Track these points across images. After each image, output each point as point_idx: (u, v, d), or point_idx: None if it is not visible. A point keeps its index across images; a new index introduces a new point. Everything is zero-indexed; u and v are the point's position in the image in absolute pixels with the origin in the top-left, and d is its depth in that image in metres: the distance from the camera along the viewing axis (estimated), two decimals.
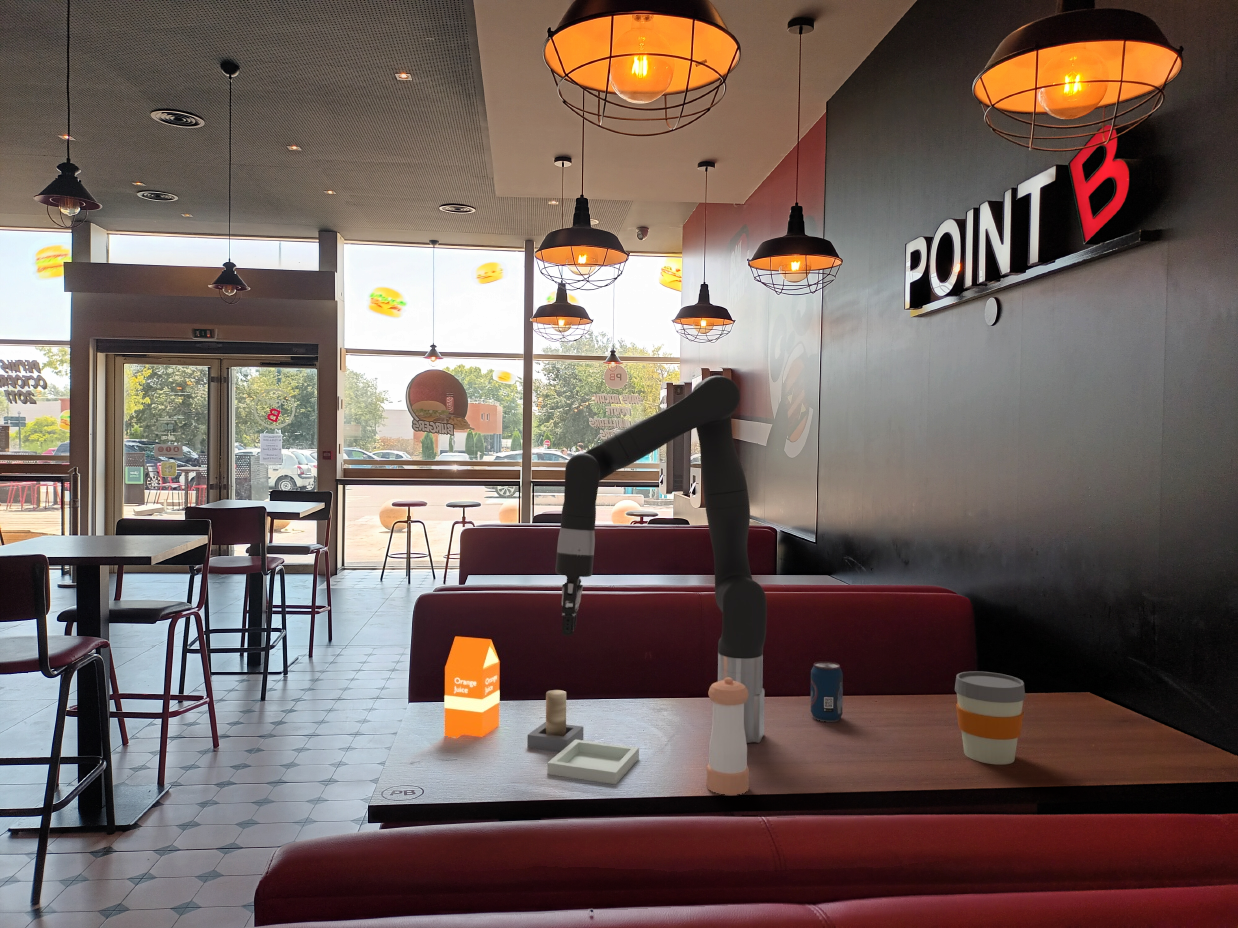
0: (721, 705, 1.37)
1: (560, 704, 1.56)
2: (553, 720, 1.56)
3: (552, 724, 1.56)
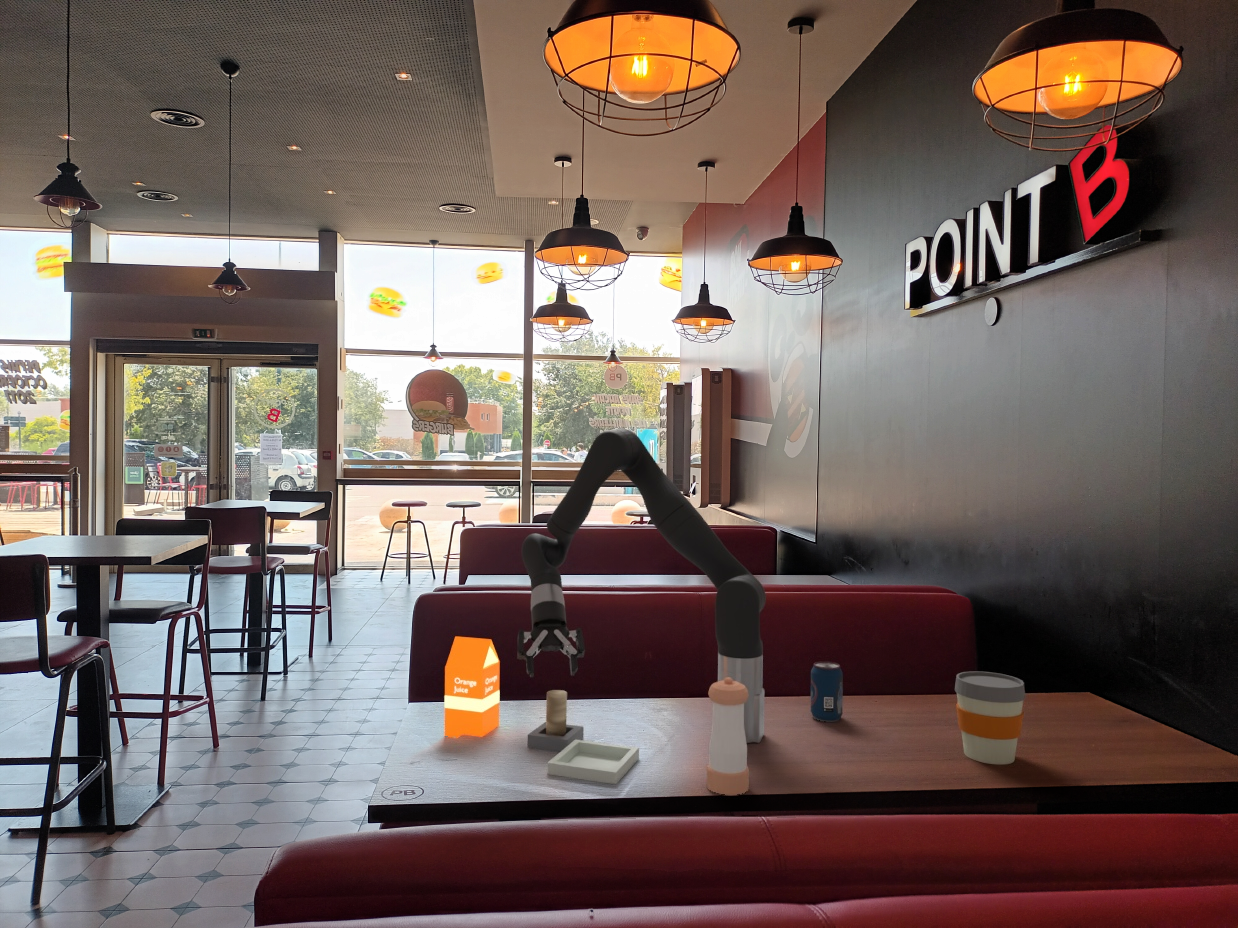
0: (721, 705, 1.37)
1: (561, 704, 1.56)
2: (553, 720, 1.56)
3: (552, 724, 1.56)
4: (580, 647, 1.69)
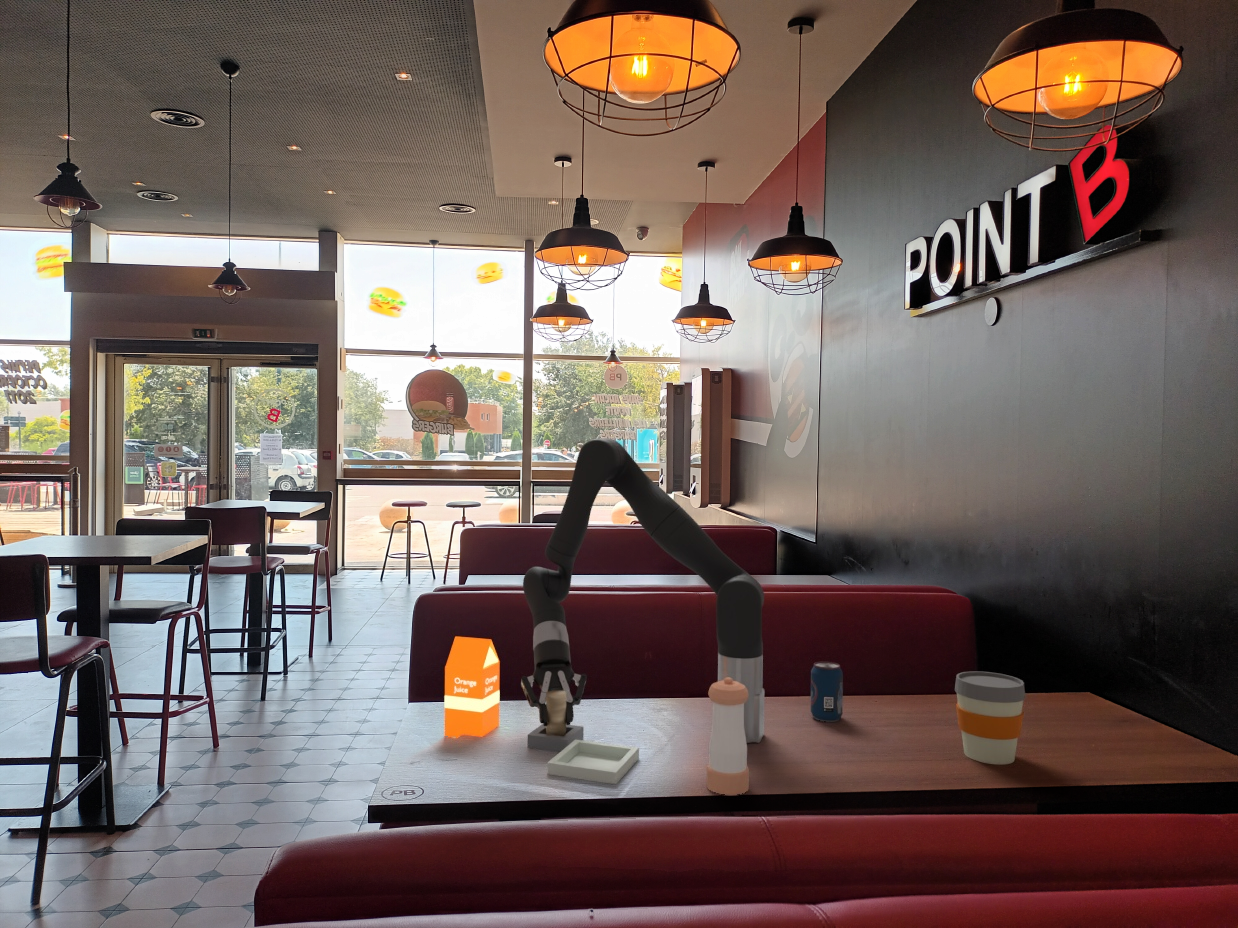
0: (721, 705, 1.37)
1: (560, 704, 1.56)
2: (553, 720, 1.56)
3: (552, 724, 1.56)
4: (577, 694, 1.60)
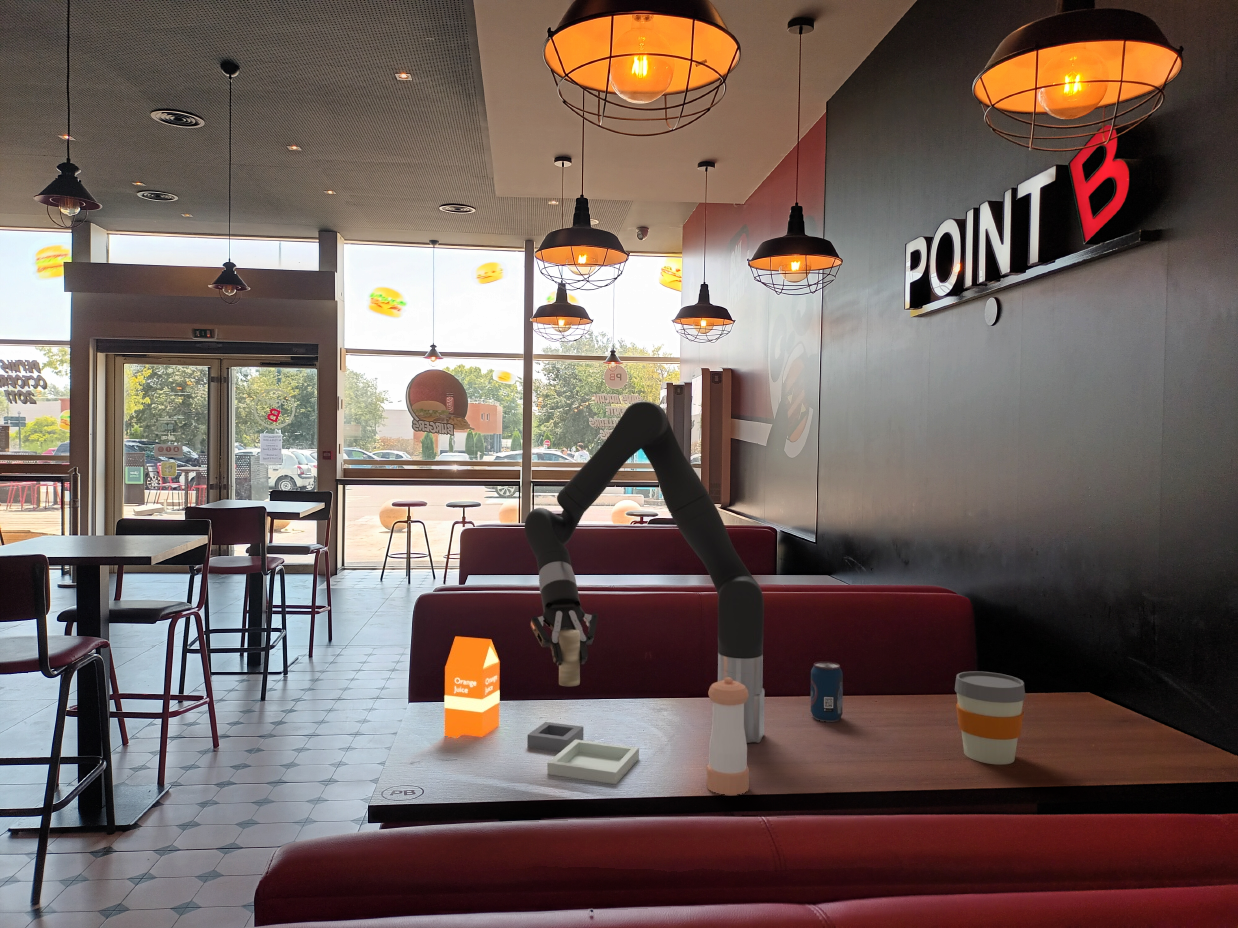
0: (721, 705, 1.37)
1: (575, 643, 1.51)
2: (567, 659, 1.51)
3: (567, 663, 1.51)
4: (590, 633, 1.55)
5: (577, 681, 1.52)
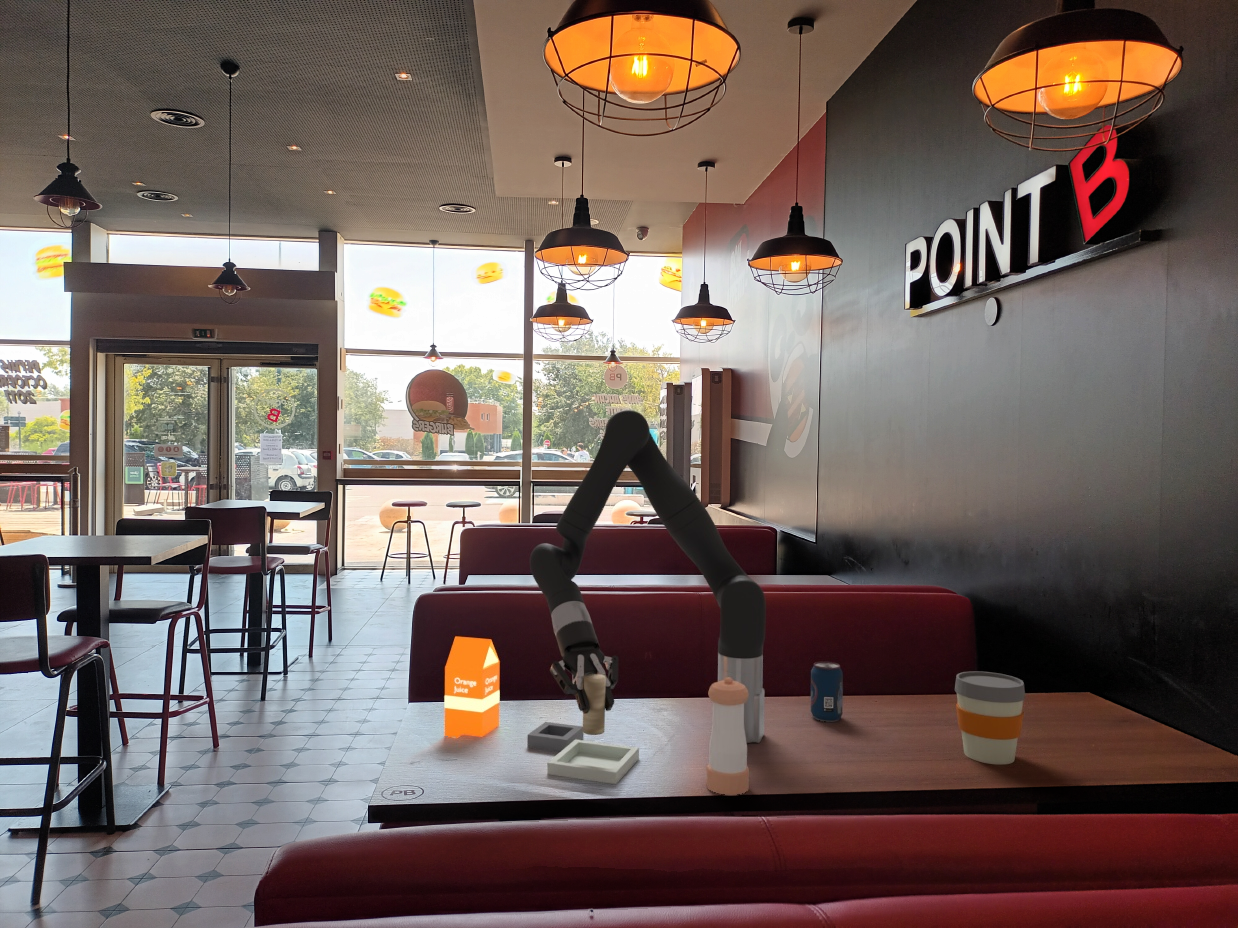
0: (721, 705, 1.37)
1: (602, 689, 1.45)
2: (594, 707, 1.44)
3: (593, 711, 1.44)
4: (613, 677, 1.49)
5: (603, 729, 1.45)
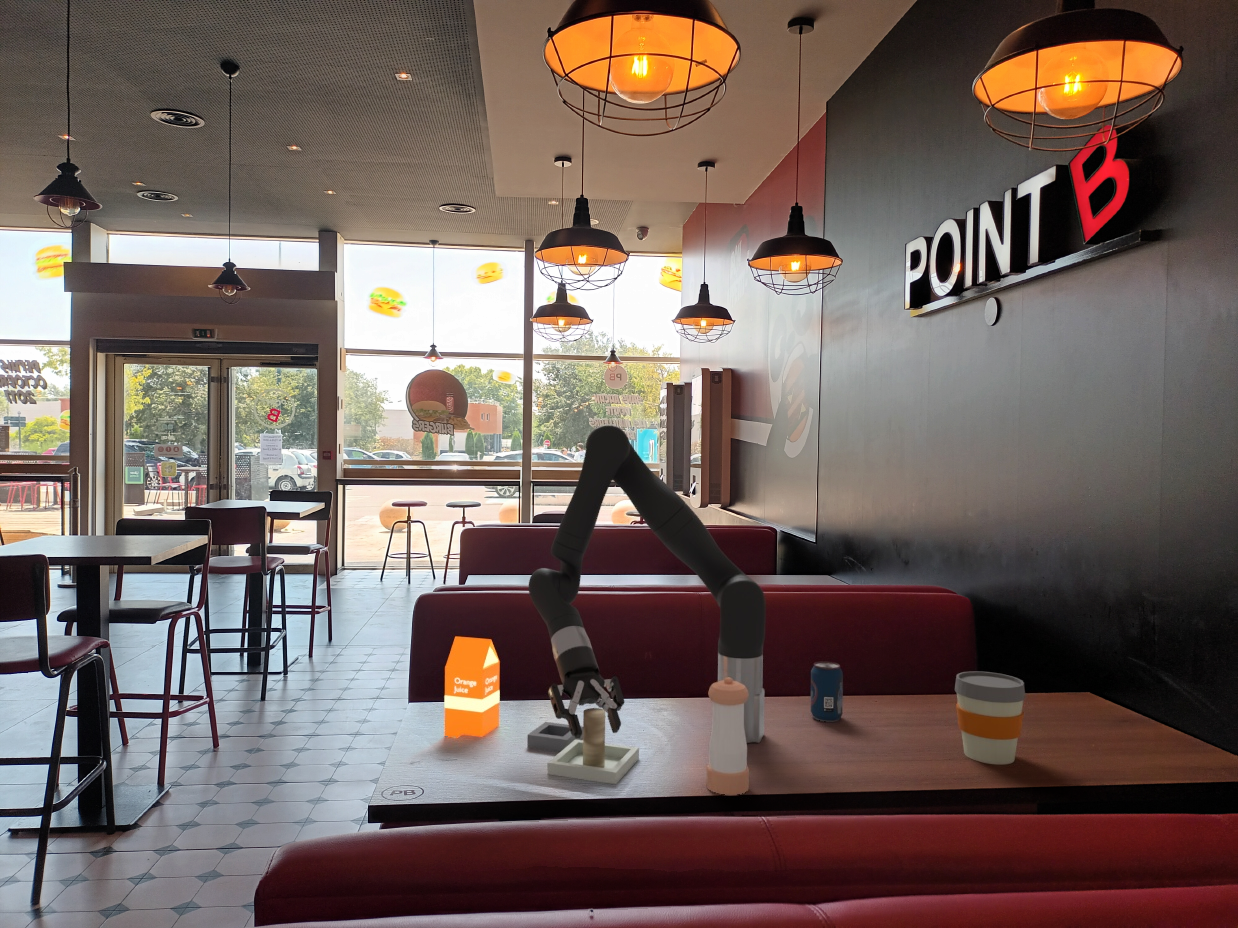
0: (721, 705, 1.37)
1: (601, 724, 1.45)
2: (594, 742, 1.44)
3: (593, 746, 1.44)
4: (619, 699, 1.50)
5: (603, 763, 1.45)
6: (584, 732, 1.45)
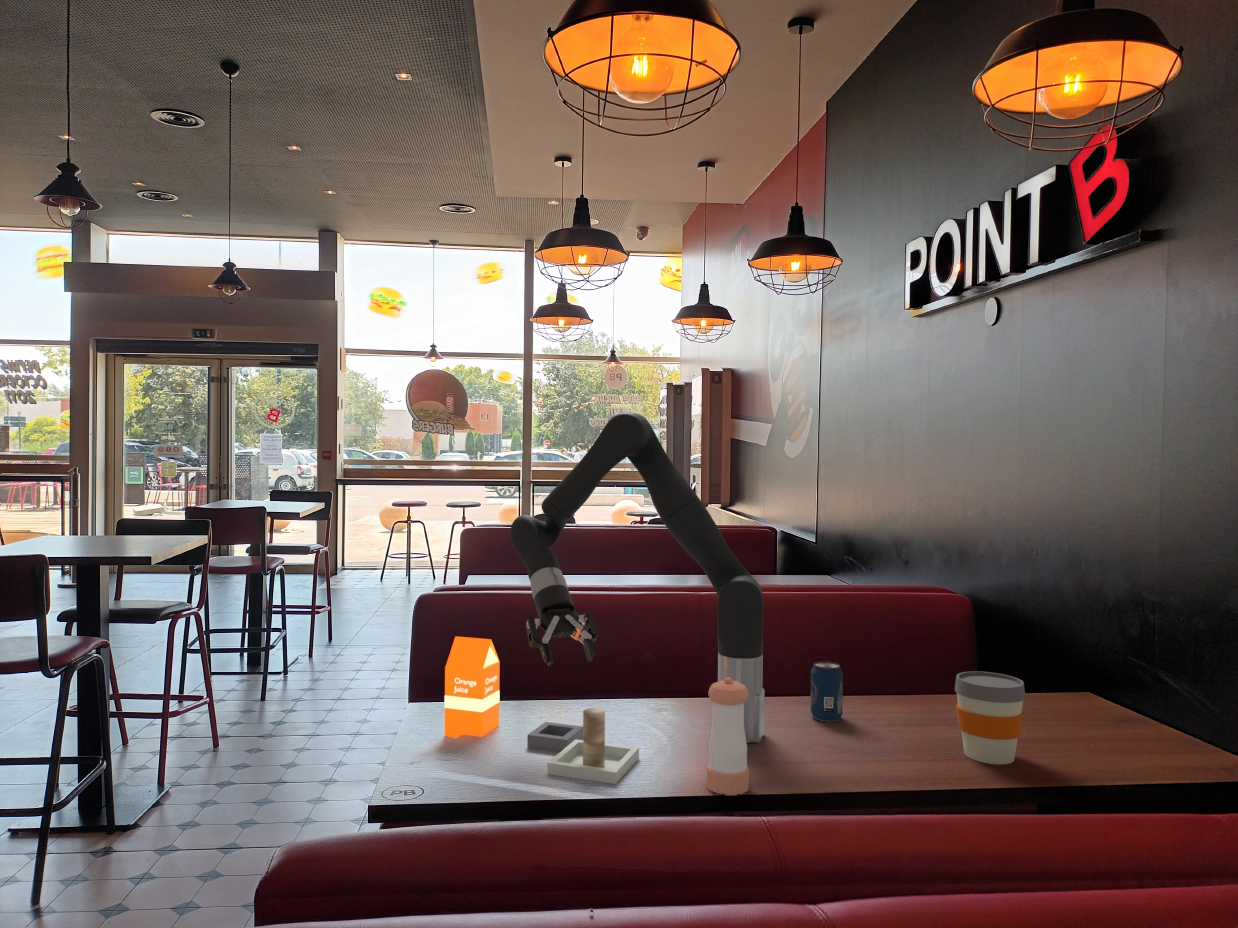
0: (721, 705, 1.37)
1: (601, 723, 1.45)
2: (594, 742, 1.44)
3: (593, 746, 1.44)
4: (594, 631, 1.62)
5: (603, 763, 1.45)
6: (584, 732, 1.45)
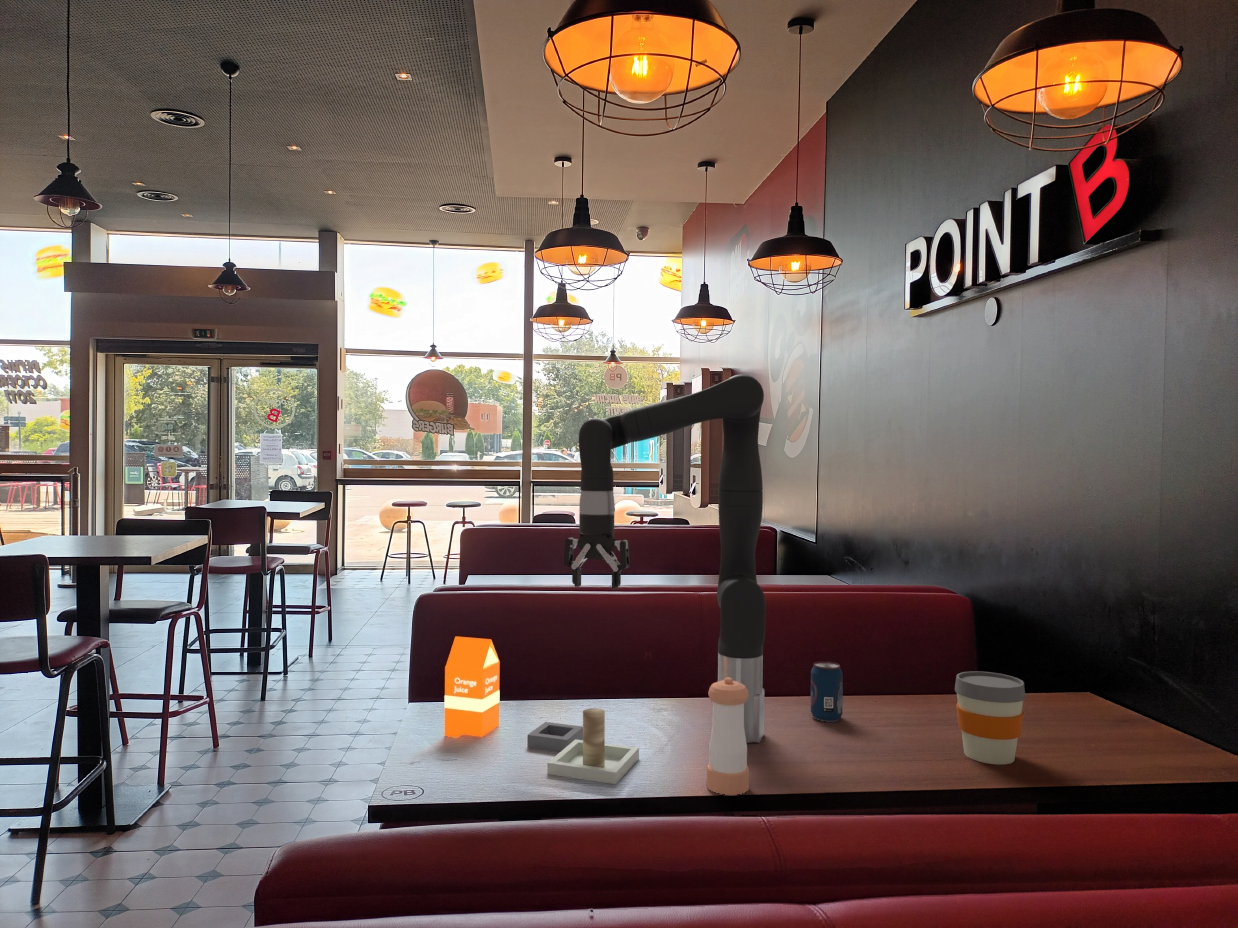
0: (721, 705, 1.37)
1: (601, 723, 1.45)
2: (594, 742, 1.44)
3: (593, 746, 1.44)
4: (621, 564, 1.67)
5: (603, 763, 1.45)
6: (584, 732, 1.45)
